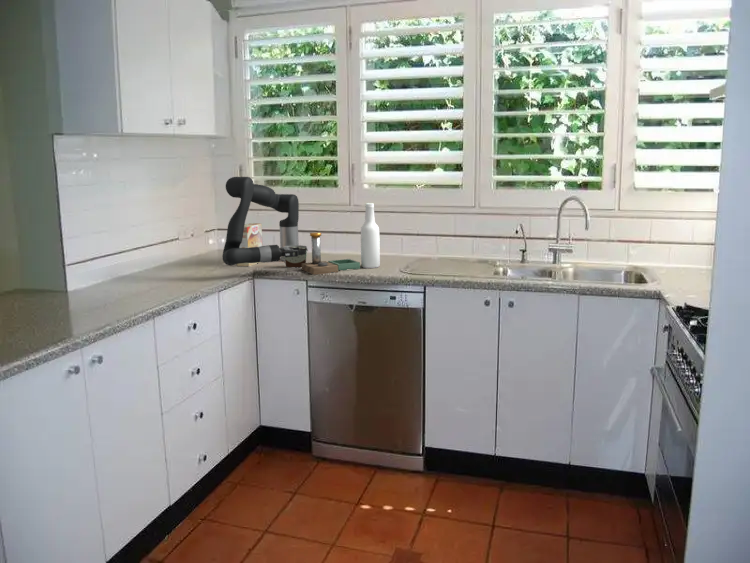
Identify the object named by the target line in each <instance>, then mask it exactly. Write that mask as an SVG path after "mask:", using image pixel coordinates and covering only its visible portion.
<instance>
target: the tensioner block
mask: <svg viewBox="0 0 750 563" xmlns="http://www.w3.org/2000/svg"><path fill="white" fill-rule="evenodd" d="M301 266H302V268H301V271H303V272H306V273H308V274H311V275H323V274H332V273H331V272H335V273H339V271H338V266H337V265H335V264H332V263H329V262H328V261H326V260H325V261H324V260H323V261H322V260H321V263H318V264H316V265H313V264H312V261H311V262H306V263H301Z"/></svg>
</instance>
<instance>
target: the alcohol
mask: <svg viewBox="0 0 750 563" xmlns="http://www.w3.org/2000/svg"><path fill="white" fill-rule="evenodd" d="M374 204H375V203H374V202H367V203H365V204H364V205H365V214H364V215H365V216H364V223H363V224H362V226H361V227H360V260H361V261H360V266H361V268H364V269H376V268H377V269H378V268H379V267H380V265H381V254H380V253H381V249H380V247H381V246H380V245H381V244H380V242H381V241H380V227H379V225H378V224H377V223H376V218H375V205H374Z"/></svg>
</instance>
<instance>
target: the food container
mask: <svg viewBox="0 0 750 563" xmlns="http://www.w3.org/2000/svg"><path fill="white" fill-rule="evenodd" d="M285 247H288V248H289V247H290V248H296V247H298V248H299V250H306V254H305V255H298V256H297V257H284V258H285V261H284V263H285V268H286V269H288V268H287V267H295V268H294V269H301V268H300V267H302V266H301V263H307V252H309V248H308V246H306V245H300V244H299V245H293V246H285ZM293 254H295V253H293ZM297 267H298V268H297Z"/></svg>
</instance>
